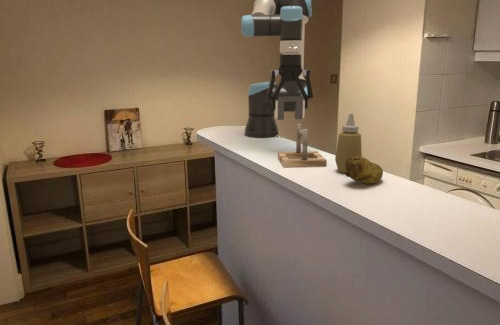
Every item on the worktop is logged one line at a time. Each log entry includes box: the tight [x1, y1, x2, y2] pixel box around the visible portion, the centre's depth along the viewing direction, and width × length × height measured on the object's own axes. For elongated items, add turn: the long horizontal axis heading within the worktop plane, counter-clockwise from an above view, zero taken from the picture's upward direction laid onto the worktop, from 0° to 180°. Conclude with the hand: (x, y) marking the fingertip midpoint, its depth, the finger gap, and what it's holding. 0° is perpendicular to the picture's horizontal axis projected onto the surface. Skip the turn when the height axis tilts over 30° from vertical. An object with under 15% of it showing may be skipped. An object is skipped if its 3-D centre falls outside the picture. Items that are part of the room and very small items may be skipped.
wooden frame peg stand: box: [277, 123, 328, 169], centre depth 139 cm, size 13×14×12 cm
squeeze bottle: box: [334, 113, 363, 174], centre depth 126 cm, size 8×8×18 cm
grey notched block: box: [276, 96, 303, 121], centre depth 149 cm, size 9×3×8 cm, turn 95°
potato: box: [345, 156, 384, 185], centre depth 116 cm, size 8×13×8 cm, turn 105°
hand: (289, 117), depth 150 cm, fingers closed on grey notched block, 9 cm apart
